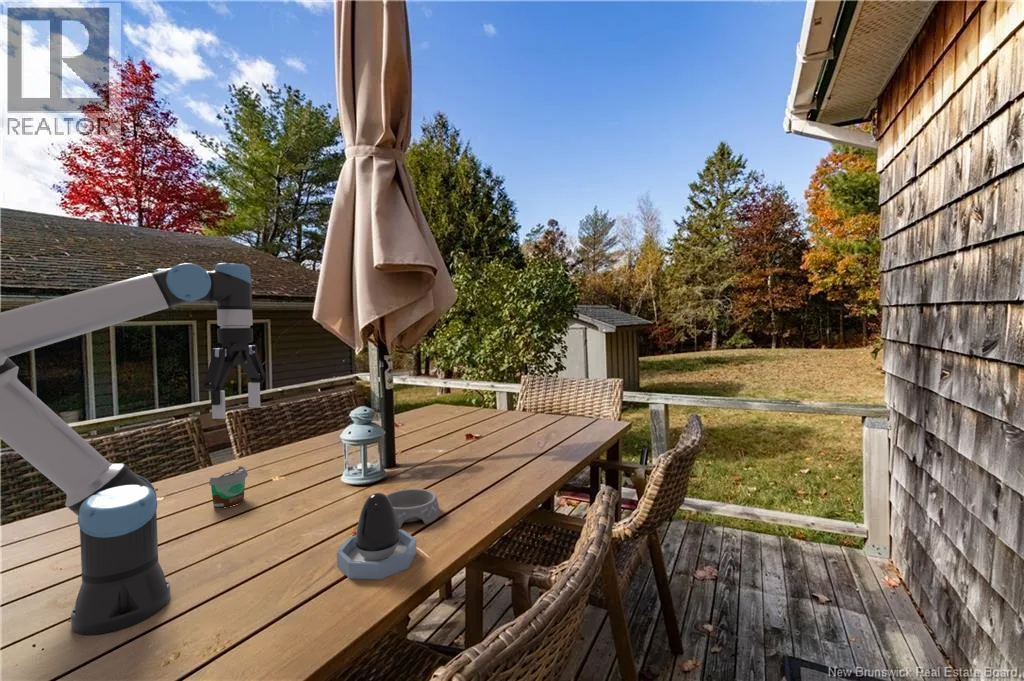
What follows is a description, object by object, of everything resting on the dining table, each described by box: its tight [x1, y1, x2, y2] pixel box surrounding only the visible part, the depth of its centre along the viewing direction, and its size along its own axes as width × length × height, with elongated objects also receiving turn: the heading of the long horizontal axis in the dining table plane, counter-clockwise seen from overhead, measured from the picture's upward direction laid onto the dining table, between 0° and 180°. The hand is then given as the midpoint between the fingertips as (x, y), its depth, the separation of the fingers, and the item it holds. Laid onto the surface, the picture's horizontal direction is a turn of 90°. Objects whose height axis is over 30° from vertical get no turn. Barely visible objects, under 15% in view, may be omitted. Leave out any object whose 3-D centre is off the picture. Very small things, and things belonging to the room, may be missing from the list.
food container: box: [208, 465, 249, 509], centre depth 146 cm, size 12×6×10 cm, turn 168°
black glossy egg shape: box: [355, 492, 400, 561], centre depth 112 cm, size 10×10×15 cm
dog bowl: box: [385, 488, 441, 529], centre depth 138 cm, size 17×18×5 cm
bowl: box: [336, 528, 417, 580], centre depth 112 cm, size 17×17×4 cm
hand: (237, 412), depth 116 cm, fingers open, 13 cm apart
